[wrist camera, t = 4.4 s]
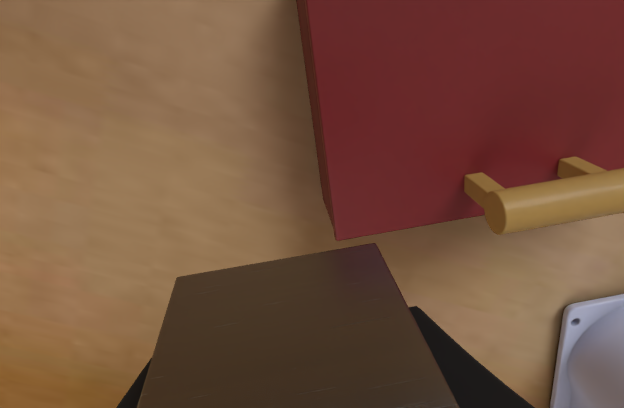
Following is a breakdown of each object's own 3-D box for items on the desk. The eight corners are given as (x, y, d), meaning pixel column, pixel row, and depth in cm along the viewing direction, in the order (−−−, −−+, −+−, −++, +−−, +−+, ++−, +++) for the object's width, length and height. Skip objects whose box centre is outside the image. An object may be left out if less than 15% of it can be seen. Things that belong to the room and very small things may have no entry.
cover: (678, 174, 17) (779, 214, 14) (334, 235, 16) (353, 292, 13) (749, -109, 13) (915, -150, 10) (298, -45, 12) (313, -66, 9)
